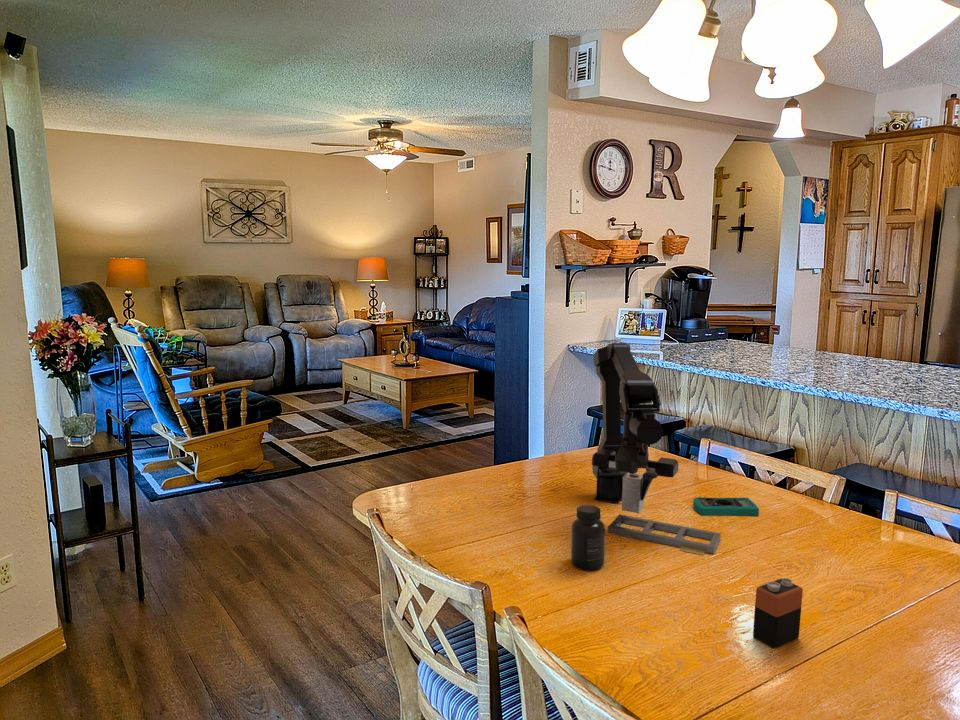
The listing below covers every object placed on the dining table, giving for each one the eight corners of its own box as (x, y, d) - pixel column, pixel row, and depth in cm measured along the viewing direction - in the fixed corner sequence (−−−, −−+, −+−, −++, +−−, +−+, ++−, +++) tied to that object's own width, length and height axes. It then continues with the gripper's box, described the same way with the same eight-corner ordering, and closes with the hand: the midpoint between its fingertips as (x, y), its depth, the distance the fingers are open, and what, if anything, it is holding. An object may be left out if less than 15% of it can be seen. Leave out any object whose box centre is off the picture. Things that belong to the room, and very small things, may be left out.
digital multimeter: (690, 506, 175) (691, 495, 175) (748, 507, 175) (749, 496, 175) (699, 517, 168) (699, 506, 168) (759, 518, 168) (760, 506, 168)
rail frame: (605, 535, 156) (606, 529, 156) (619, 520, 165) (619, 514, 164) (712, 557, 145) (712, 550, 145) (720, 539, 154) (720, 533, 154)
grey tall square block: (621, 510, 157) (623, 476, 156) (626, 504, 161) (628, 471, 159) (638, 513, 155) (640, 479, 154) (643, 507, 159) (645, 474, 158)
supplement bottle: (606, 559, 143) (608, 505, 142) (601, 573, 137) (603, 516, 135) (574, 554, 146) (575, 501, 144) (567, 568, 139) (569, 512, 137)
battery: (751, 637, 115) (755, 581, 113) (777, 626, 118) (781, 572, 116) (774, 650, 111) (778, 592, 109) (800, 638, 114) (804, 582, 113)
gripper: (584, 435, 153) (582, 502, 155) (669, 446, 144) (665, 517, 146) (600, 424, 162) (598, 487, 165) (680, 434, 154) (677, 501, 156)
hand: (633, 498), depth 158 cm, fingers closed on grey tall square block, 4 cm apart
